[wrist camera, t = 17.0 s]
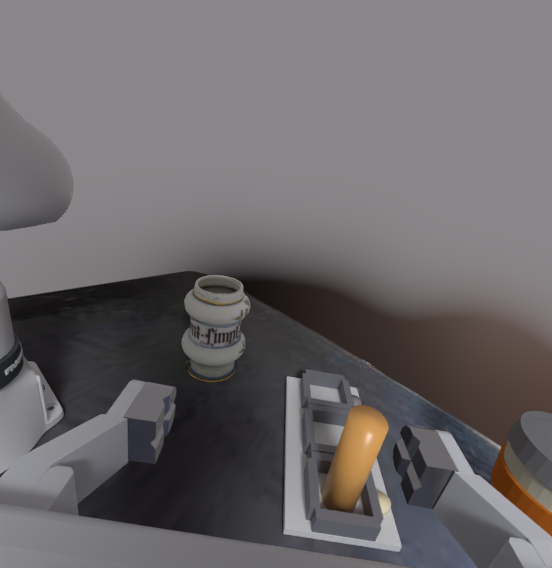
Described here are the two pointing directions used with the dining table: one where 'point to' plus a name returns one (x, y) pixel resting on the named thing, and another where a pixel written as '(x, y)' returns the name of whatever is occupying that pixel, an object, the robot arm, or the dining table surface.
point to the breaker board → (328, 467)
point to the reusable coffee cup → (528, 468)
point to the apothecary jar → (215, 327)
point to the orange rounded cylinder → (354, 458)
